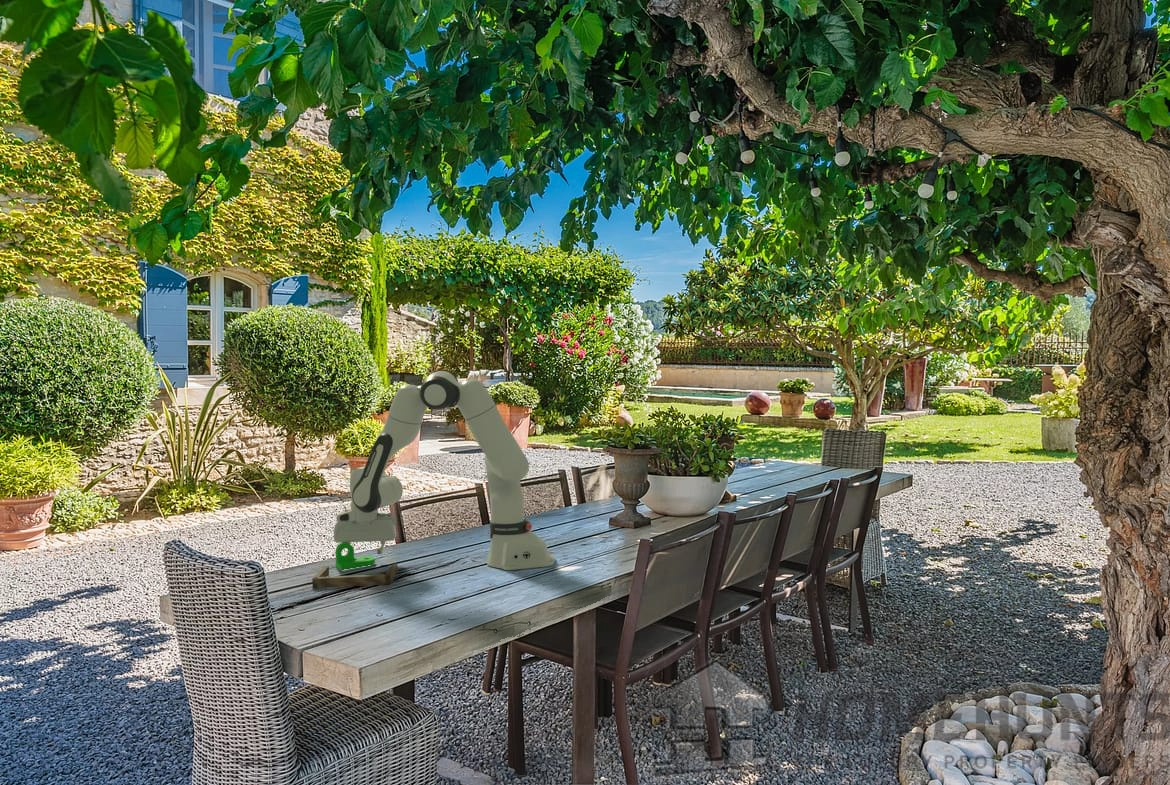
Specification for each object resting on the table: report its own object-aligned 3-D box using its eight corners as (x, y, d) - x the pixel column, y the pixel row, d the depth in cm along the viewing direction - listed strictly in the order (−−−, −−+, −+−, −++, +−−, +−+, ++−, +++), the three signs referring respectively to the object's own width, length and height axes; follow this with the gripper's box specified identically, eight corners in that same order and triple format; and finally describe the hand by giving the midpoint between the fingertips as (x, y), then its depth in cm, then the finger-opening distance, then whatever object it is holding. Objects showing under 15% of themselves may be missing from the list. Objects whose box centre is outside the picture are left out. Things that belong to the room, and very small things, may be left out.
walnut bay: (397, 572, 243) (397, 563, 243) (390, 585, 230) (390, 575, 229) (324, 575, 241) (323, 566, 241) (312, 588, 228) (312, 578, 227)
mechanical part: (341, 571, 246) (340, 547, 245) (335, 567, 251) (335, 543, 250) (377, 565, 253) (376, 541, 252) (371, 561, 258) (370, 538, 257)
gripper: (397, 510, 258) (398, 550, 259) (336, 512, 257) (337, 553, 257) (394, 514, 252) (395, 555, 253) (331, 516, 250) (332, 558, 251)
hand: (365, 554), depth 255 cm, fingers open, 8 cm apart
